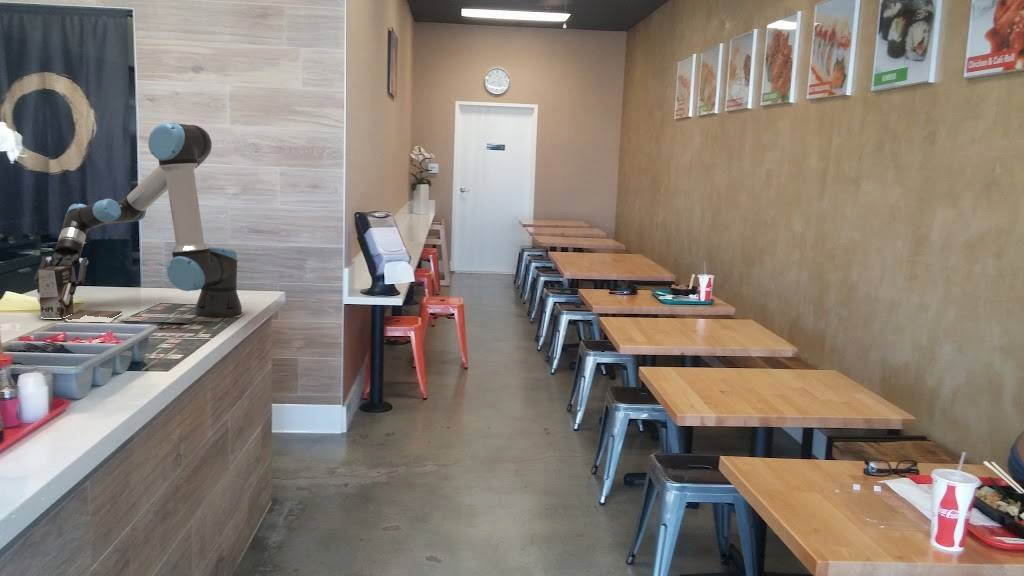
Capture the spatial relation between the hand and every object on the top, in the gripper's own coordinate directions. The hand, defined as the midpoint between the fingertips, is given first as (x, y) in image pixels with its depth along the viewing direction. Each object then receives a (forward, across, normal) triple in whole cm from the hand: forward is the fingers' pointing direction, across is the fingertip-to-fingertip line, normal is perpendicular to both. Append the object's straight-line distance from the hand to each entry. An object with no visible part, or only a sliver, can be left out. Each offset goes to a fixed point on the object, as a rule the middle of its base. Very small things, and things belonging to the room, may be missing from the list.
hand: (52, 301), depth 239 cm
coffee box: (+2, 0, -6) cm, 7 cm away
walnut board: (+2, -11, -6) cm, 13 cm away
